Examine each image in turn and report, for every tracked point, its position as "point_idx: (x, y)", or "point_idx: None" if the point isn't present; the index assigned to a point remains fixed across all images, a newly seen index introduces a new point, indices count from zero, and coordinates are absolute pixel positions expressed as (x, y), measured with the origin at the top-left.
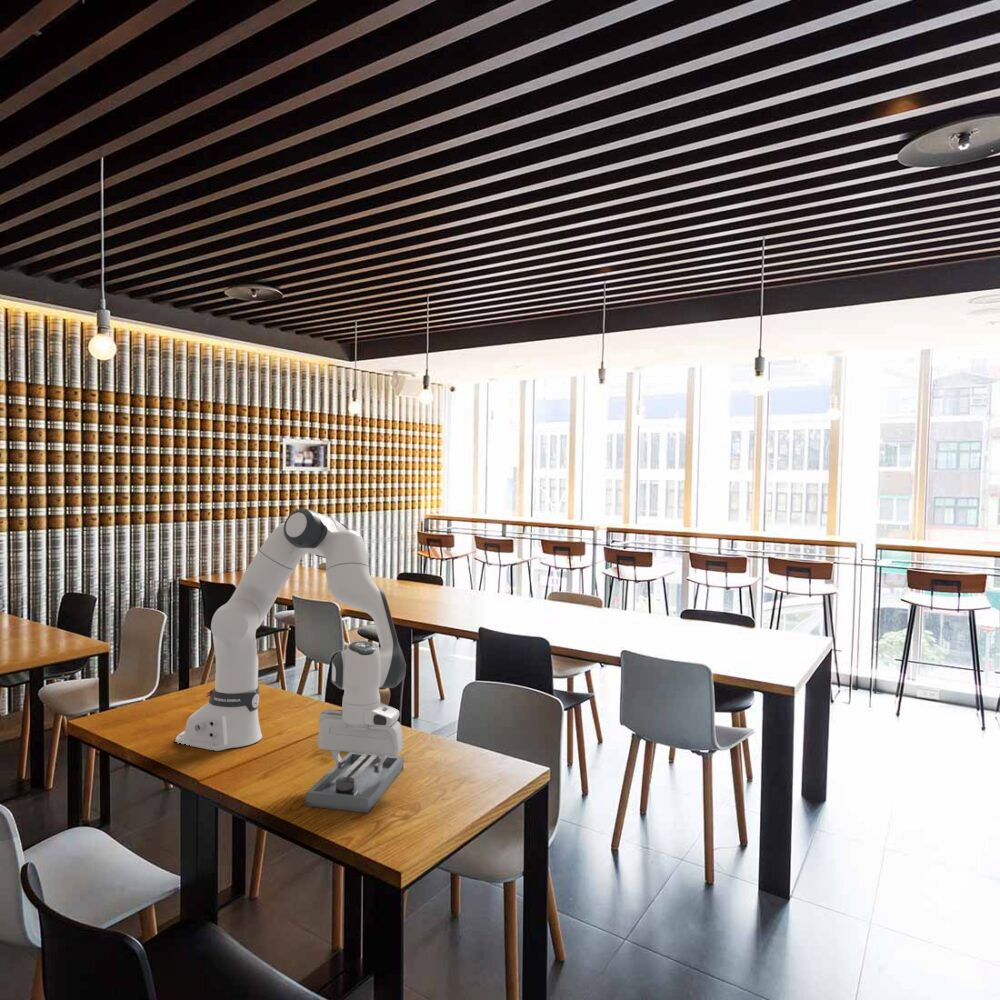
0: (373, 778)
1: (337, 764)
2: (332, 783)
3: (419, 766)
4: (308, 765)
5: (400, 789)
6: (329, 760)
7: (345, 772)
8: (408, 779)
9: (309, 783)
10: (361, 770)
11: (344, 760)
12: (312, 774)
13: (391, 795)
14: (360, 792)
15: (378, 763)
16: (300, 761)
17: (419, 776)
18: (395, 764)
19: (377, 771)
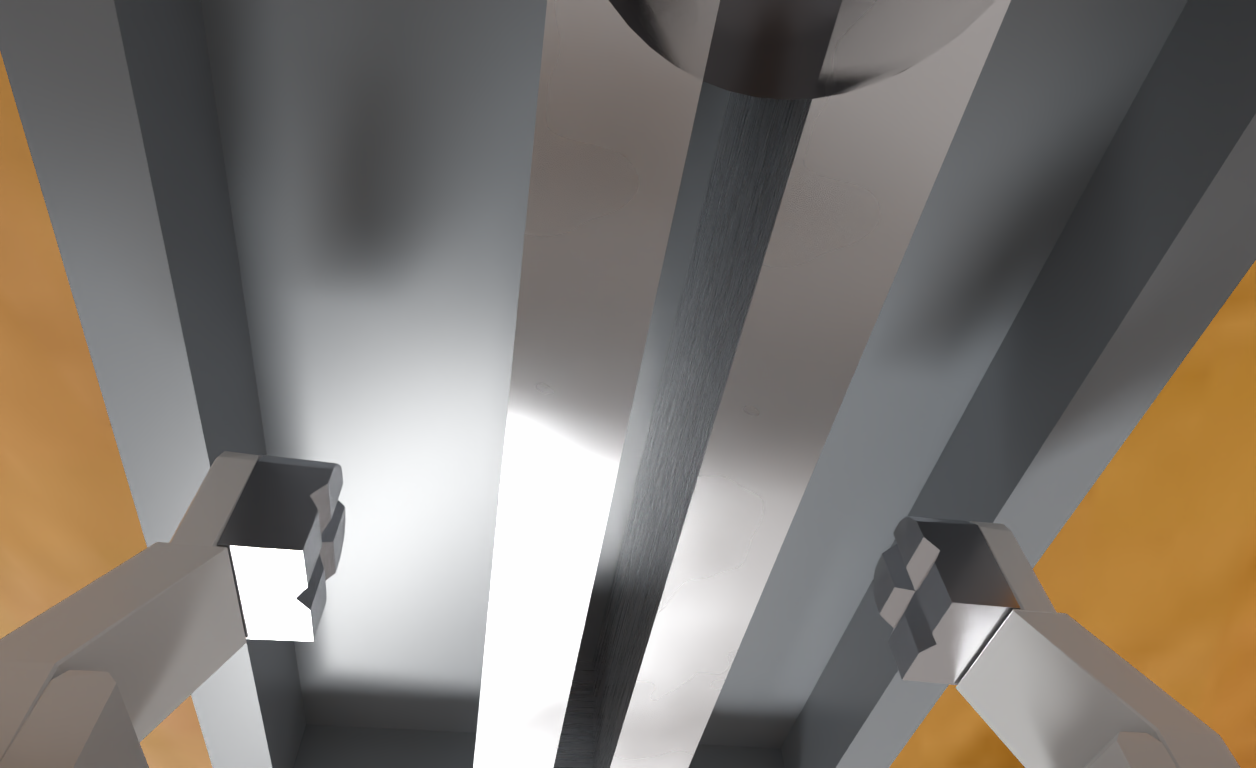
0: (450, 487)
1: (1012, 571)
2: (985, 307)
3: (152, 753)
4: (1175, 683)
5: (11, 314)
6: (978, 759)
7: (851, 329)
8: (89, 550)
9: (1246, 365)
10: (543, 440)
11: (903, 665)
12: (1167, 551)
13: (11, 109)
14: (481, 14)
15: (270, 630)
16: (1232, 727)
17: (16, 613)
18: (222, 712)
19: (260, 468)
